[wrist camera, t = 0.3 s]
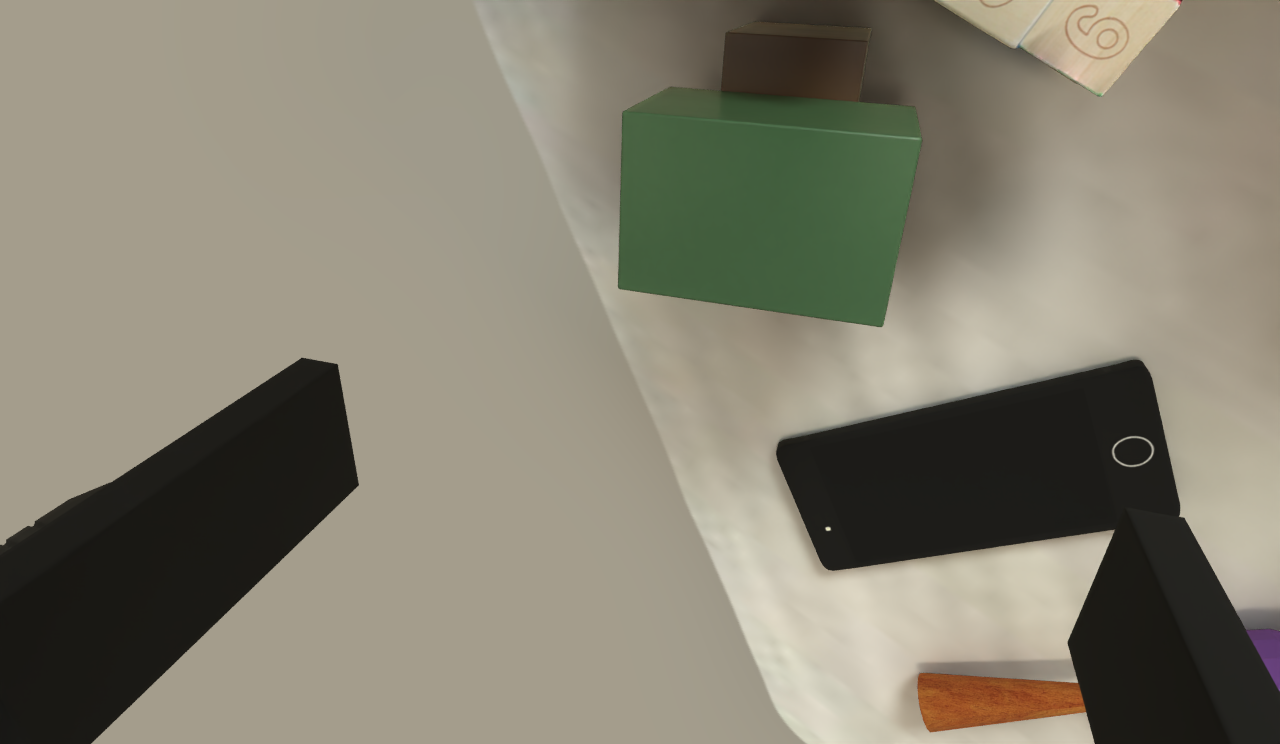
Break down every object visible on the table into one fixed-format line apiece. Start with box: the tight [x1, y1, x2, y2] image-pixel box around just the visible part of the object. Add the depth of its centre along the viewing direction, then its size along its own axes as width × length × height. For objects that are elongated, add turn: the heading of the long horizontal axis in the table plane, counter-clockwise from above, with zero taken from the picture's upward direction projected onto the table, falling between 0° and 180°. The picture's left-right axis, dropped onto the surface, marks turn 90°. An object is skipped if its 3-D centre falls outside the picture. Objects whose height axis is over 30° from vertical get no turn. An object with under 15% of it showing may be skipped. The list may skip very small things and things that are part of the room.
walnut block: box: [721, 21, 871, 102], centre depth 32 cm, size 10×5×7 cm, turn 178°
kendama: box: [917, 629, 1280, 732], centre depth 41 cm, size 6×6×20 cm
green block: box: [618, 87, 922, 327], centre depth 27 cm, size 6×9×6 cm, turn 88°
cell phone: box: [776, 360, 1180, 571], centre depth 40 cm, size 9×18×1 cm, turn 115°
